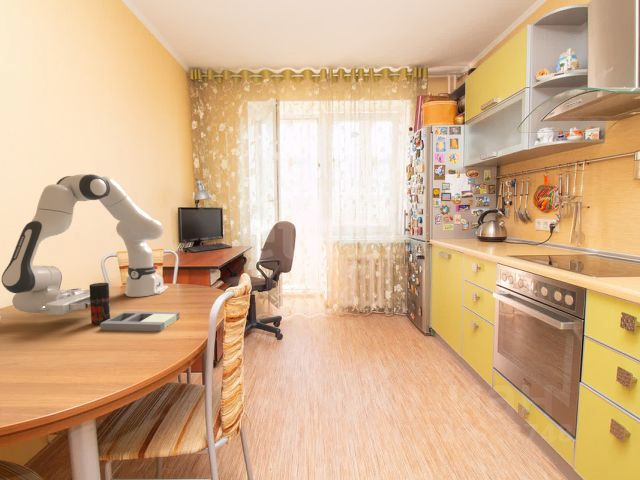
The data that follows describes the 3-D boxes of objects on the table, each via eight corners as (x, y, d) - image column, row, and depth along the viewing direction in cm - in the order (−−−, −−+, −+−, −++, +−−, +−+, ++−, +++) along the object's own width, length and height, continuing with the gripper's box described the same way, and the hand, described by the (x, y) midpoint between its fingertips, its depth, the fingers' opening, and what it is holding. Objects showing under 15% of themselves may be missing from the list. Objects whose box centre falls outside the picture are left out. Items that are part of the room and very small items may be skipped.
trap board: (125, 317, 127) (125, 311, 127) (179, 318, 126) (179, 312, 126) (100, 330, 113) (100, 323, 113) (160, 331, 112) (160, 324, 112)
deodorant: (89, 323, 120) (87, 284, 119) (108, 319, 124) (106, 281, 123) (93, 327, 116) (91, 286, 115) (112, 322, 120) (110, 284, 119)
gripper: (34, 301, 109) (72, 302, 109) (80, 287, 130) (113, 287, 129) (35, 319, 110) (74, 319, 110) (81, 302, 130) (114, 303, 130)
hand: (95, 302), depth 120 cm, fingers open, 8 cm apart
